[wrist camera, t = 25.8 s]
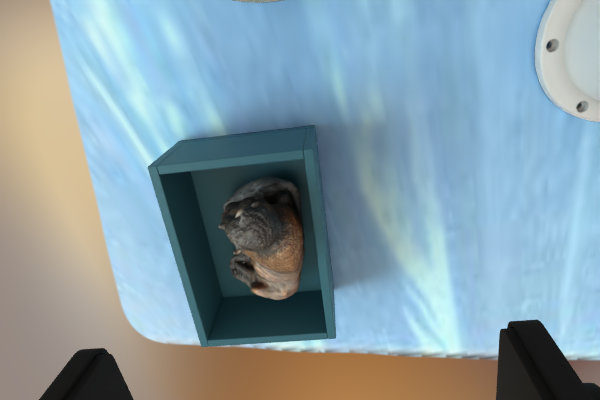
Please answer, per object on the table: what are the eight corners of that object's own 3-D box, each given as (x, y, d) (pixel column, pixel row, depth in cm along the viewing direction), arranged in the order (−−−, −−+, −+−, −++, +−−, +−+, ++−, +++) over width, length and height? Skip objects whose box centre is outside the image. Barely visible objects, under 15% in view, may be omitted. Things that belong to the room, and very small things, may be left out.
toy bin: (314, 125, 33) (313, 148, 27) (333, 289, 40) (336, 338, 34) (178, 141, 34) (147, 166, 28) (219, 298, 41) (201, 347, 35)
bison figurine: (311, 277, 38) (308, 357, 29) (240, 279, 39) (214, 358, 30) (302, 159, 34) (295, 210, 24) (221, 164, 34) (184, 215, 25)
